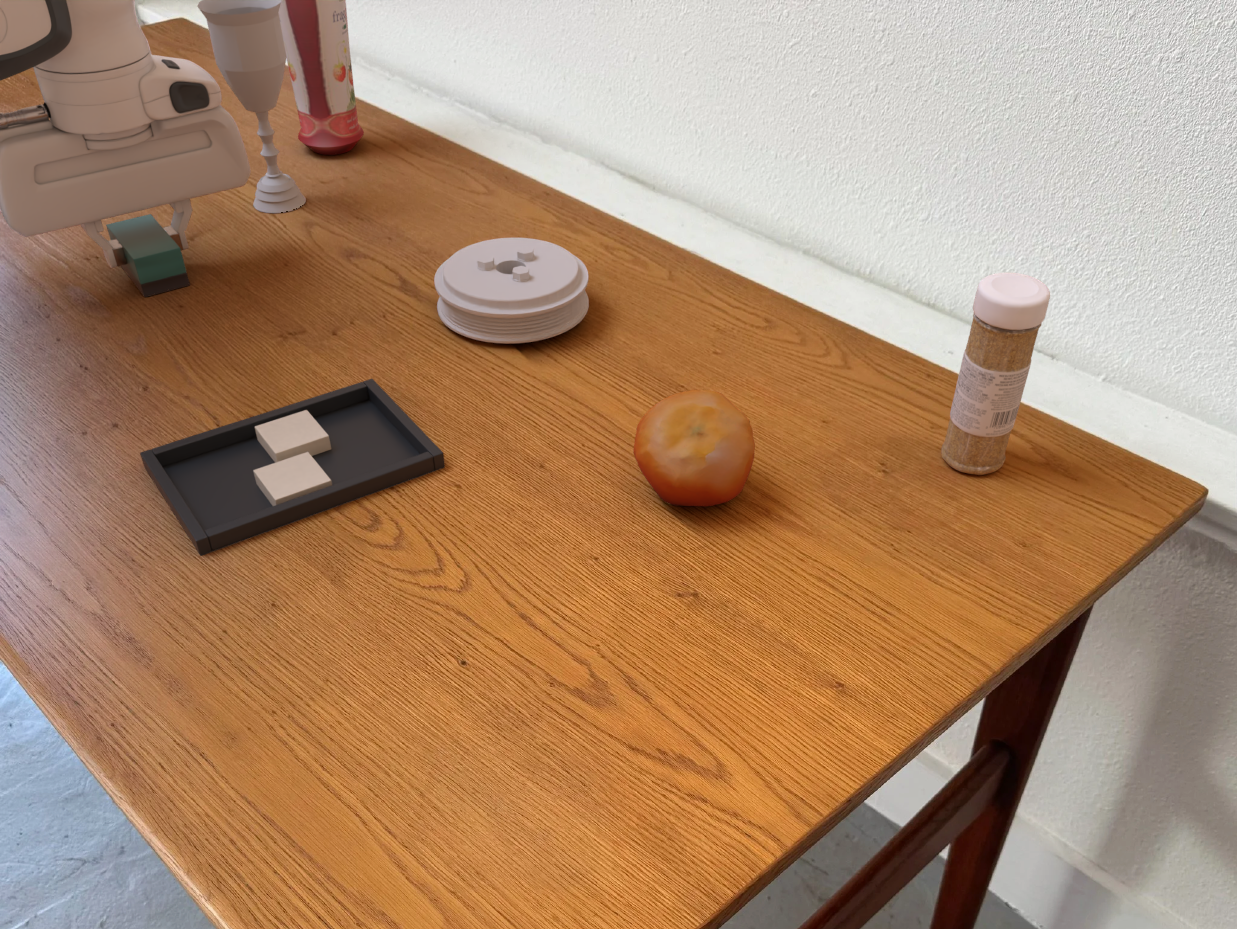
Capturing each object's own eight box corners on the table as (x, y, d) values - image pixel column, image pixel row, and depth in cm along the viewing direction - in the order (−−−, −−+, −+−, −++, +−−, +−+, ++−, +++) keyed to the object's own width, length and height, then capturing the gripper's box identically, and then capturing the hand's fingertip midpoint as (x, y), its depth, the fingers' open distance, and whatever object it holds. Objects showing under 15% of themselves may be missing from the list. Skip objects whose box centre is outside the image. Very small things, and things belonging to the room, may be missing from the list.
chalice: (299, 181, 119) (263, -14, 107) (329, 204, 115) (295, 4, 103) (230, 199, 116) (185, 0, 104) (258, 223, 112) (215, 19, 100)
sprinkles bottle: (986, 437, 86) (1031, 266, 77) (1015, 473, 83) (1065, 299, 74) (928, 445, 86) (966, 273, 77) (955, 481, 82) (998, 306, 73)
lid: (531, 370, 93) (527, 312, 90) (407, 326, 98) (400, 270, 95) (617, 304, 101) (617, 249, 97) (499, 266, 106) (495, 212, 102)
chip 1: (278, 467, 82) (275, 453, 82) (257, 440, 85) (254, 426, 84) (331, 449, 84) (329, 435, 83) (309, 423, 87) (306, 409, 86)
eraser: (190, 285, 103) (180, 247, 101) (144, 297, 101) (133, 259, 99) (161, 250, 108) (150, 213, 105) (117, 261, 106) (105, 224, 104)
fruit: (747, 426, 85) (758, 373, 77) (747, 529, 83) (758, 486, 75) (635, 423, 85) (635, 370, 77) (632, 526, 83) (631, 483, 75)
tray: (202, 561, 76) (195, 540, 75) (145, 472, 83) (139, 452, 82) (445, 472, 83) (443, 452, 82) (375, 397, 90) (372, 378, 89)
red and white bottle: (360, 161, 123) (314, -156, 104) (291, 160, 123) (231, -157, 104) (373, 134, 128) (331, -172, 109) (306, 133, 128) (252, -173, 109)
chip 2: (278, 514, 79) (275, 499, 78) (256, 484, 81) (252, 470, 80) (334, 494, 80) (331, 480, 79) (311, 465, 83) (308, 451, 82)
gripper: (-27, 132, 88) (35, 302, 97) (238, 80, 96) (271, 241, 106) (-45, 106, 92) (16, 272, 101) (211, 58, 100) (245, 216, 109)
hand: (148, 256), depth 103 cm, fingers closed on eraser, 4 cm apart
